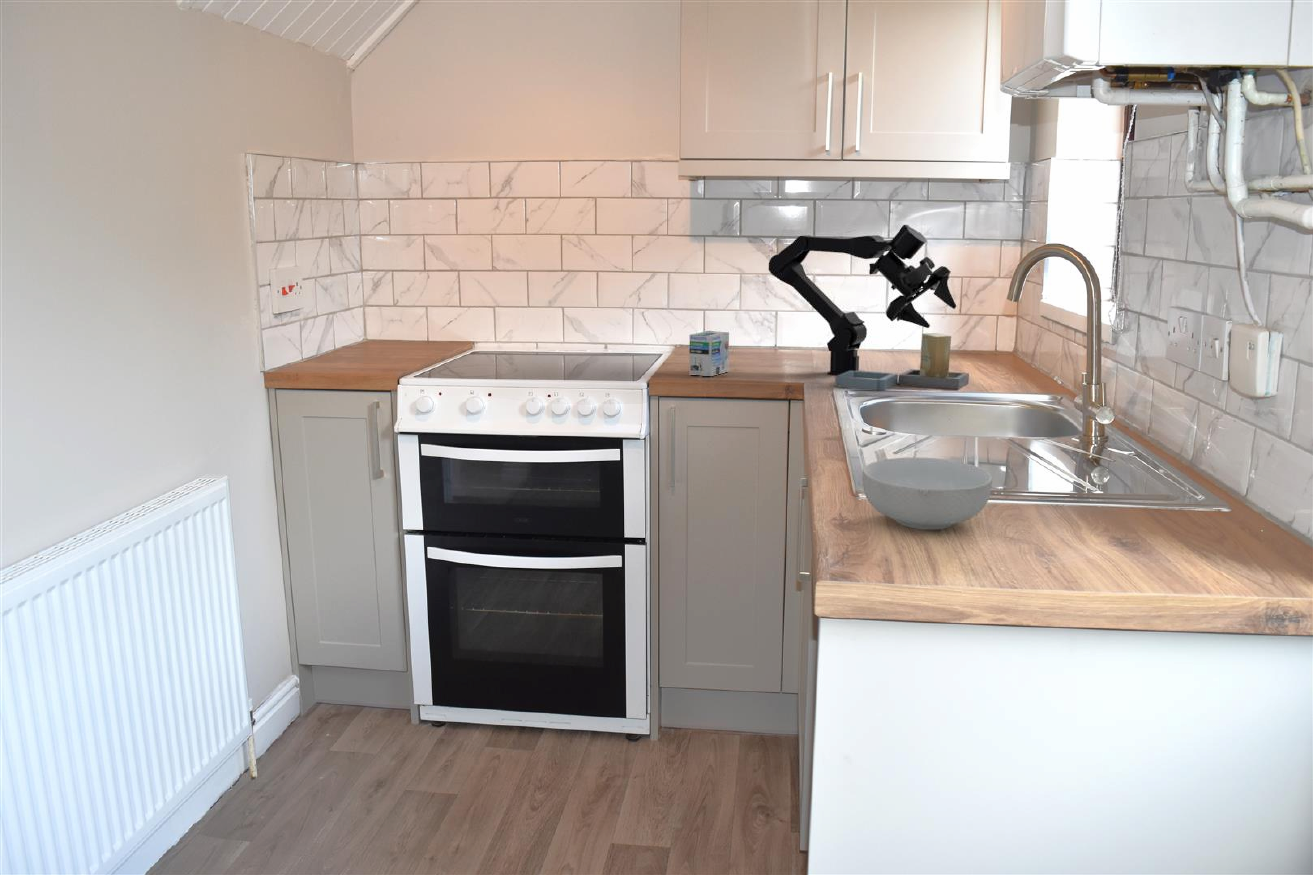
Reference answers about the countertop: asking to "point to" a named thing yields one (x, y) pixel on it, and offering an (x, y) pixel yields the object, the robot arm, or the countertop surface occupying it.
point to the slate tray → (866, 380)
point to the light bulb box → (709, 353)
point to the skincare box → (935, 355)
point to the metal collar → (934, 380)
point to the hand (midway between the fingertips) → (942, 317)
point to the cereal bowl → (926, 491)
